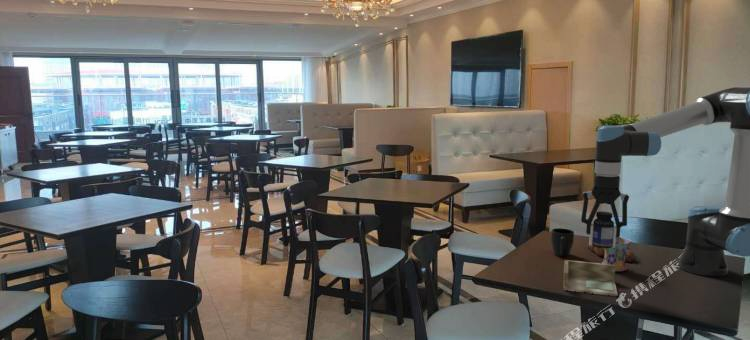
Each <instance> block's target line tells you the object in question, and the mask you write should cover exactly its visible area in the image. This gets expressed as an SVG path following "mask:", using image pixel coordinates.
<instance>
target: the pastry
mask: <svg viewBox="0 0 750 340" xmlns="http://www.w3.org/2000/svg"><path fill="white" fill-rule="evenodd" d="M617 238H621V237H620V236H619V237H617ZM587 248H588V250H590V249H591V250H592V251H591V250H590V251H591V252H593V253H594V254H596V256H597V257H600V258H604V256H605V250H604V248H597V247H594V246H593V245H589V242H588V243H587ZM634 261H635V254H634V252H633V251H631V250H630V248H629V247H628V248H627V251H626V254H625V263H634Z"/></svg>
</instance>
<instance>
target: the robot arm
mask: <svg viewBox="0 0 750 340" xmlns="http://www.w3.org/2000/svg"><path fill="white" fill-rule="evenodd" d="M717 123H730V127H729V129H730V131H731V132H733V134H734V137H733V145H732V152H731V157H730V158H731V159H730V167H729V174H728V180H727V181H728V182H727V188H726V194H725V195H726V196H725V203H724V206H713V205H712V206H711V205H700V206H692V207H691V208H690V209H689V213H688V216H687V219H688V220H687V227H686V228H687V230H686V242H685V247H684V250H683V251H682V253H681V255H680V257H679V260H678V268H679V269H681V270H683V271H686V272H688V273H692V274H694V275H695V274H696V275H699V276H705V277H724V276H727V275H728V273H729V265H728V262H727V258H726V255H725V251H726V252H728V253H729V254H732V255H737V256H740V257H750V87H740V86H739V87H730V88H726V89H722V90H718V91H716V92H713V93H711V94H707V95H705V96H702V97H698V98H696V99H695V100H694V101H693V103H690V104H687V105H684V106H681V107H678V108H675V109H672V110H670V111H665V112H662V113H660V114H657V115H653V116H651V117H649V118H645V119H642V120H638V121H637V122H633V123H630V124H627V125H623V126H620V125H600V126H599V127H598V128H597V133H596V137H595V141H596V142H595V159H594V173H595V174H594V175H593V186H592V189H591V190H590V191H583V192H582V197H583V203H582V204H583V205H582V212H581V220H580V221H581V223H583V224H586V230H585V231H586V235H589V240H588V241H589V242H588V243H589V245H592V239H593V222H594V220H595V219H594V218H595V216H596V213H597V212H598V209H599V207H600V206H601V205H602V204H603V205H605V204H606V205H610V208H611V211H612V212H611V213H612V216H613V218H614V224H615V225H614V230H613V243H612V247H613V248H615V242H616V237H620V235H621V229H622V227H626V226H628V201H629V198H630V196H629V194H627V193H626V194H625V193H622V192H621V191H620V180H621V177H620V176H619V175H621V168H622V157H626V156H627V157H630V156H633V157H634V156H635V157H640V156H641V157H651V156H656V155H657V154H658V153H659V152H660V151H661V148H662V139H661V138H662V137H666V136H669V135H672V134H675V133H678V132H682V131H684V130H687V129H691V128H693V127H697V126H699V125H700V126H701V125H705V126H709V125H712V124H717ZM591 196H593V198H594V199H595V201H594V204H593V206H592V209H591V211H590V213H589V216H588V218H587V211H588V205H589V199H590V198H591ZM618 198H620V200H621V201H622V202H621V211H622V212H621V221H620V219H619V214H618V210H617V208H616V207H617V206H616V203H615V202H616V201H617V199H618Z"/></svg>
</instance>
